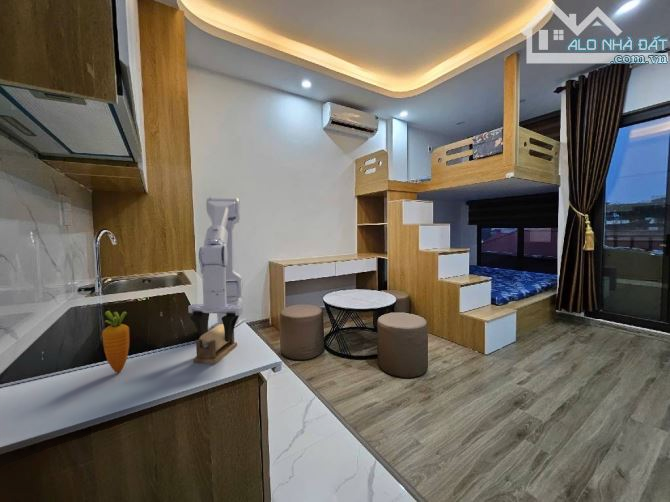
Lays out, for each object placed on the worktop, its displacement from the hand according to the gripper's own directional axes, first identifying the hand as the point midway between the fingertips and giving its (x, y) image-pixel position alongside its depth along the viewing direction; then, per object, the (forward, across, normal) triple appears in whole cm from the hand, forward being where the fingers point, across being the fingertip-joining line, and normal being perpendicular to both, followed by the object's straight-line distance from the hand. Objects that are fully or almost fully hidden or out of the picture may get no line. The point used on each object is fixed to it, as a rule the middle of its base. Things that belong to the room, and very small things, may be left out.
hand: (216, 339), depth 76 cm
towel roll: (0, 0, 0) cm, 0 cm away
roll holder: (+4, 0, 0) cm, 4 cm away
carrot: (+4, -17, -13) cm, 22 cm away
